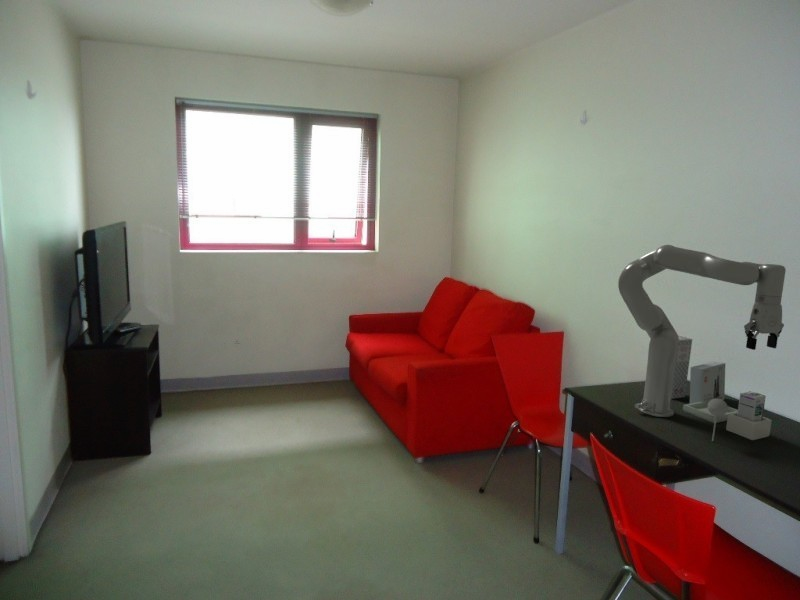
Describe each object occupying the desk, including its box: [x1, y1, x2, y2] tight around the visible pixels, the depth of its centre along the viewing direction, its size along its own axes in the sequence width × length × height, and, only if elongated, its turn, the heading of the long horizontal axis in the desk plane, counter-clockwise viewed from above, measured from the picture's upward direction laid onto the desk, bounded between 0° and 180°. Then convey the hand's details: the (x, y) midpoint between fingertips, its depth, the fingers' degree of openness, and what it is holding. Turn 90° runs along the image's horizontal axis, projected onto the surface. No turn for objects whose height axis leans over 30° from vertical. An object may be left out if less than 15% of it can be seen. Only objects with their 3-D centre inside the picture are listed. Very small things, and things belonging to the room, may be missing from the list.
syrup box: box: [737, 390, 767, 422], centre depth 194 cm, size 6×6×14 cm
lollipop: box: [708, 398, 728, 442], centre depth 185 cm, size 6×6×15 cm
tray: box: [682, 400, 738, 424], centre depth 212 cm, size 16×13×2 cm
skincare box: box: [688, 361, 726, 404], centre depth 226 cm, size 21×6×16 cm, turn 127°
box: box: [671, 335, 693, 400], centre depth 231 cm, size 8×8×25 cm
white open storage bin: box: [725, 412, 773, 441], centre depth 195 cm, size 10×10×6 cm
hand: (761, 348), depth 193 cm, fingers open, 9 cm apart
